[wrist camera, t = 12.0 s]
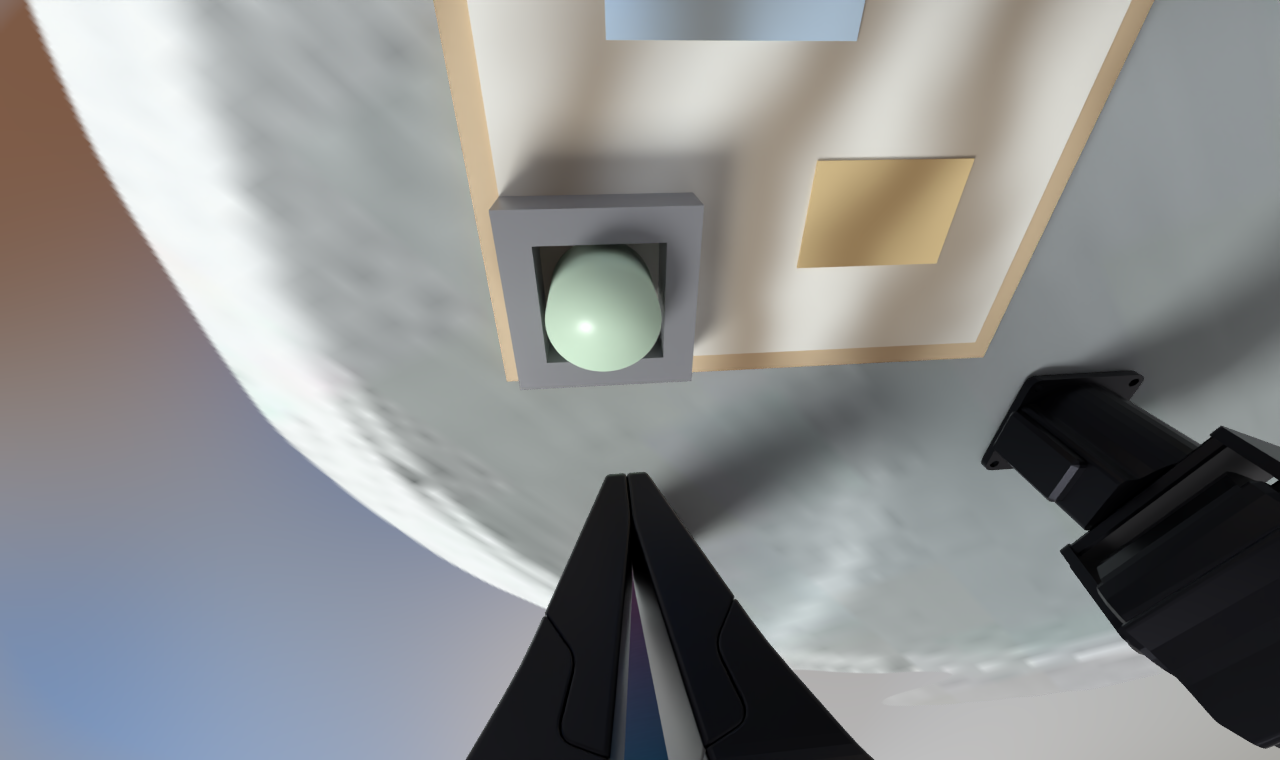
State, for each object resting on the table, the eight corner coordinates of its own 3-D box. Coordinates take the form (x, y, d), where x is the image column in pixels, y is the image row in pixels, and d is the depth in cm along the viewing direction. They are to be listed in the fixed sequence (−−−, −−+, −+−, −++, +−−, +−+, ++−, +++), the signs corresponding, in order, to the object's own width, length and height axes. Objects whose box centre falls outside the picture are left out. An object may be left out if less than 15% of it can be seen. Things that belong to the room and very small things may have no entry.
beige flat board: (1271, -306, 12) (1326, -336, 11) (972, 349, 23) (987, 360, 22) (371, -367, 11) (350, -408, 10) (509, 371, 22) (505, 385, 21)
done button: (652, 236, 17) (663, 264, 15) (651, 331, 20) (660, 368, 17) (545, 240, 17) (538, 268, 15) (556, 335, 19) (551, 374, 17)
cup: (563, 529, 28) (542, 891, 16) (663, 487, 27) (726, 844, 14) (616, 583, 32) (634, 913, 19) (707, 548, 30) (788, 876, 18)
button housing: (692, 192, 17) (703, 205, 15) (683, 356, 21) (691, 380, 19) (498, 196, 16) (488, 210, 15) (525, 363, 20) (520, 389, 19)
